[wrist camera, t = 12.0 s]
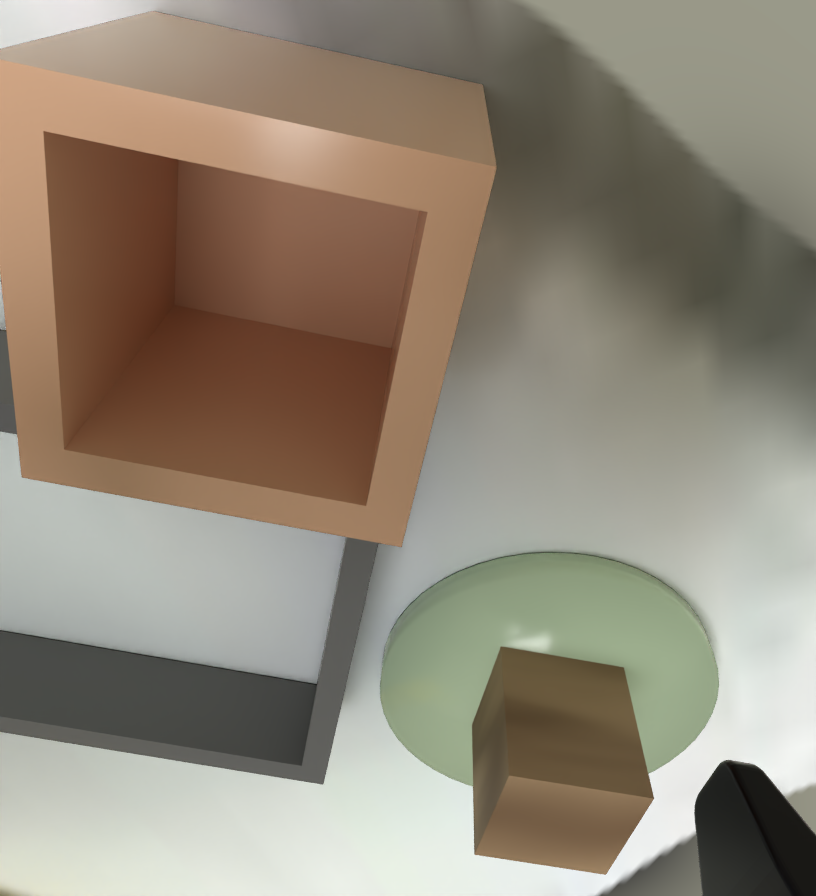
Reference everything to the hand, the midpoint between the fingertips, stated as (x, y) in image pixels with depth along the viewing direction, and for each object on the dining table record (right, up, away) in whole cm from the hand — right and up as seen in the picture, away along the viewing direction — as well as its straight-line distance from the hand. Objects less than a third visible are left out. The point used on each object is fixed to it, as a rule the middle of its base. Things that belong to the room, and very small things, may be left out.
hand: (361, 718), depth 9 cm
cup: (-2, +9, +9) cm, 13 cm away
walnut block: (+5, -5, +16) cm, 18 cm away
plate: (+5, -5, +17) cm, 18 cm away
